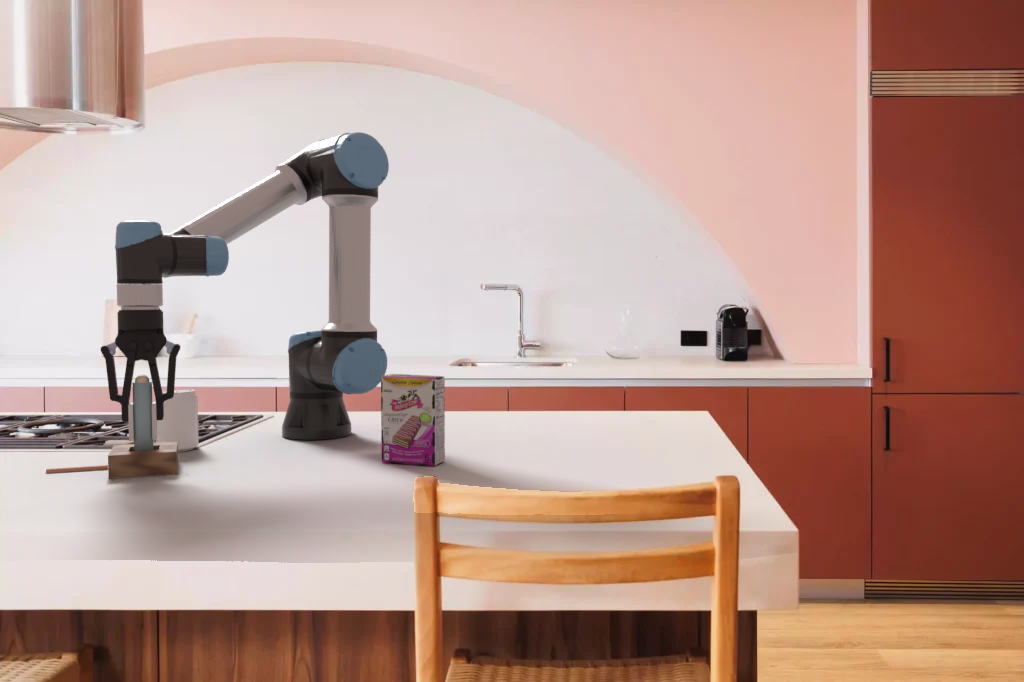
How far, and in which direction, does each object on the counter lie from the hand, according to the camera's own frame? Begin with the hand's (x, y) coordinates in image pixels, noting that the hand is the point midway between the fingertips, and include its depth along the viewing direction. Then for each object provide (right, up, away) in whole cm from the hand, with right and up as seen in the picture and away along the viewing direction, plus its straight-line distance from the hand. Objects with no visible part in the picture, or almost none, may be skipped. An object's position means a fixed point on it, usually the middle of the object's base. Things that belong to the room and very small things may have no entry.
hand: (143, 438), depth 159 cm
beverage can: (-2, -5, +22) cm, 22 cm away
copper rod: (-12, -6, 0) cm, 13 cm away
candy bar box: (+48, -5, +7) cm, 48 cm away
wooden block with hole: (0, -6, 0) cm, 6 cm away
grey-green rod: (0, -6, 0) cm, 6 cm away
